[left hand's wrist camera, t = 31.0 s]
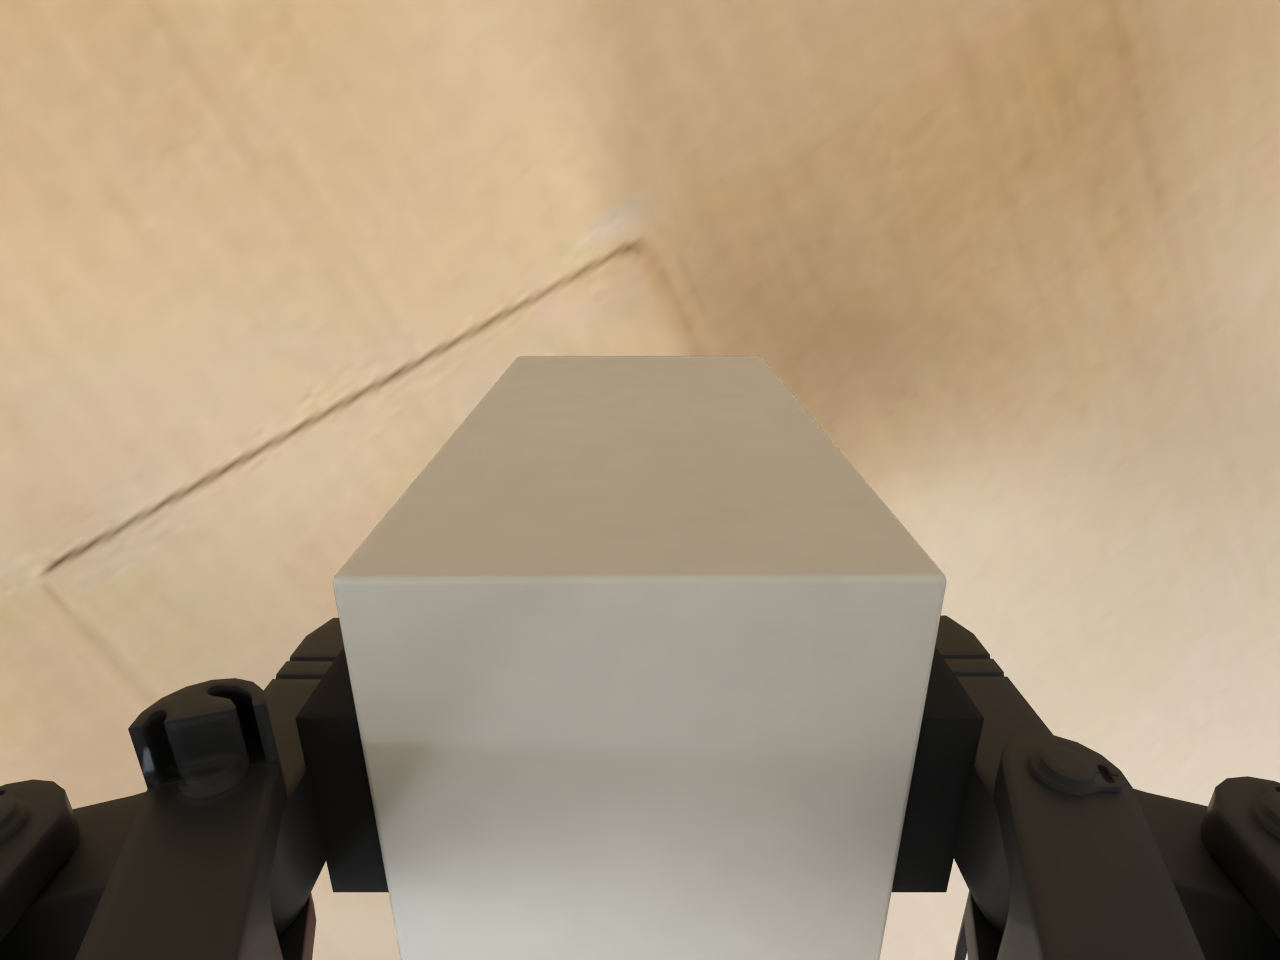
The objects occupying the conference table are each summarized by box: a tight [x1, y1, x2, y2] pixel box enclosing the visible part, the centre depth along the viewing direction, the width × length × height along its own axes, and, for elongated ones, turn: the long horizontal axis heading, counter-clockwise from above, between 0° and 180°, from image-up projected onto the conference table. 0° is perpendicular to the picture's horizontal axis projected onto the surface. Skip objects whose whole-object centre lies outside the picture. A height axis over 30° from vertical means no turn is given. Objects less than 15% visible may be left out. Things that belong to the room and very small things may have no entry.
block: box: [333, 356, 946, 960], centre depth 14 cm, size 6×6×12 cm
